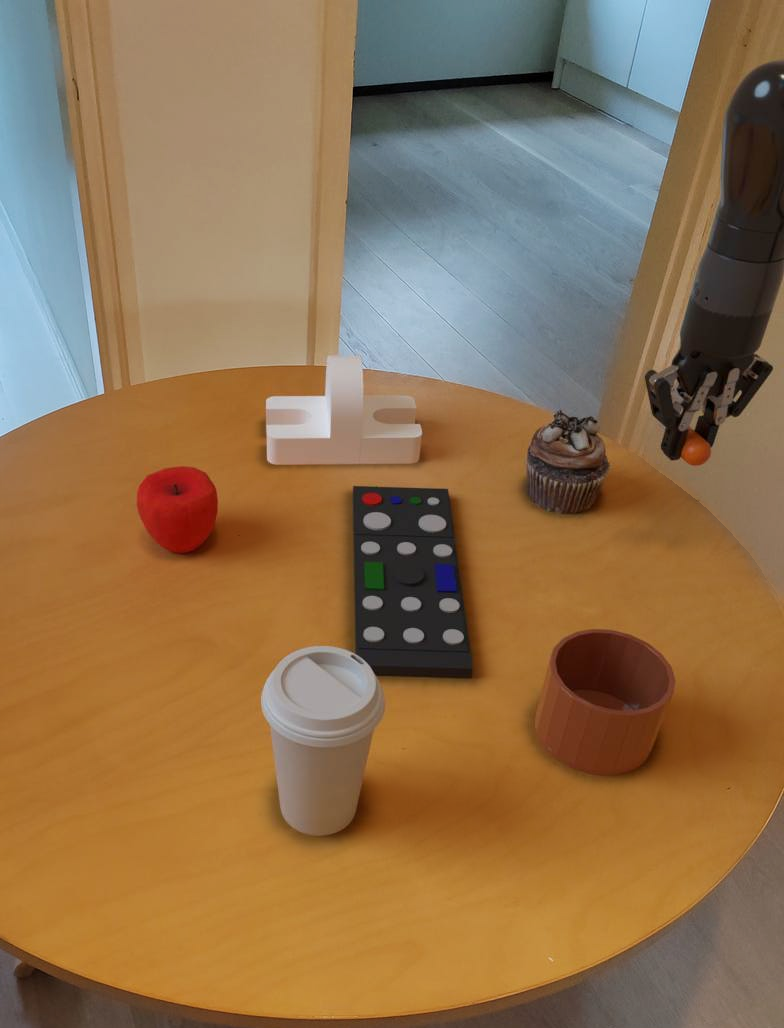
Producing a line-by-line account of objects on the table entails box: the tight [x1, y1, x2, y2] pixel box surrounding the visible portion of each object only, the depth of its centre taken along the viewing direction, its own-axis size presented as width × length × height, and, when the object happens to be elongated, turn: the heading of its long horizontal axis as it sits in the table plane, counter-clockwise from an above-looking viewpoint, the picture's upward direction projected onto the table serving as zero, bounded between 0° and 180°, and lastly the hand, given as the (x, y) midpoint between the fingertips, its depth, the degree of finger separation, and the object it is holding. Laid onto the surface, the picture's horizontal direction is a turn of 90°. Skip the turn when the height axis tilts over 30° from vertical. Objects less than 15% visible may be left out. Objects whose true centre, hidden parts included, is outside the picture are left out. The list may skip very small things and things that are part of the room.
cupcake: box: [525, 409, 611, 515], centre depth 119 cm, size 10×10×10 cm
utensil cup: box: [534, 628, 676, 777], centre depth 91 cm, size 11×11×8 cm
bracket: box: [265, 354, 423, 466], centre depth 126 cm, size 19×10×11 cm, turn 93°
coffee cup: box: [260, 645, 386, 837], centre depth 82 cm, size 10×10×15 cm
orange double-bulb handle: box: [658, 421, 712, 467], centre depth 107 cm, size 8×3×3 cm
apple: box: [136, 465, 219, 554], centre depth 111 cm, size 9×9×8 cm
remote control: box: [352, 485, 474, 680], centre depth 109 cm, size 11×30×2 cm, turn 179°
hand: (684, 453), depth 107 cm, fingers closed on orange double-bulb handle, 2 cm apart
